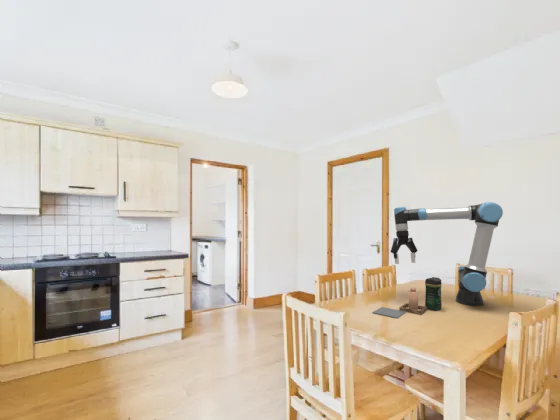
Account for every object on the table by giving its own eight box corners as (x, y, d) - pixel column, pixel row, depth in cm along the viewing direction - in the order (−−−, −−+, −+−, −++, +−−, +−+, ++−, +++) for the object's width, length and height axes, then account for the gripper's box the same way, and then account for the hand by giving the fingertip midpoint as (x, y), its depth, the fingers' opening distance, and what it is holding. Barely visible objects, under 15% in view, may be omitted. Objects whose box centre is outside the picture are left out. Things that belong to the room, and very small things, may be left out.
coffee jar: (437, 311, 175) (436, 279, 176) (423, 308, 181) (422, 277, 182) (443, 308, 182) (443, 277, 182) (430, 305, 188) (429, 275, 188)
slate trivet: (405, 312, 174) (405, 311, 174) (397, 318, 163) (397, 317, 163) (382, 307, 183) (382, 306, 183) (372, 313, 172) (372, 312, 172)
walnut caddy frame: (427, 310, 178) (427, 306, 178) (421, 315, 169) (421, 311, 169) (406, 306, 186) (406, 303, 186) (399, 310, 177) (399, 307, 177)
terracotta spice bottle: (419, 310, 178) (419, 288, 178) (416, 312, 174) (416, 289, 174) (410, 308, 181) (409, 286, 182) (407, 310, 177) (407, 288, 178)
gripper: (412, 230, 208) (415, 262, 204) (382, 231, 198) (386, 264, 195) (421, 229, 201) (424, 262, 197) (390, 230, 192) (394, 264, 188)
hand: (405, 263), depth 196 cm, fingers open, 13 cm apart
